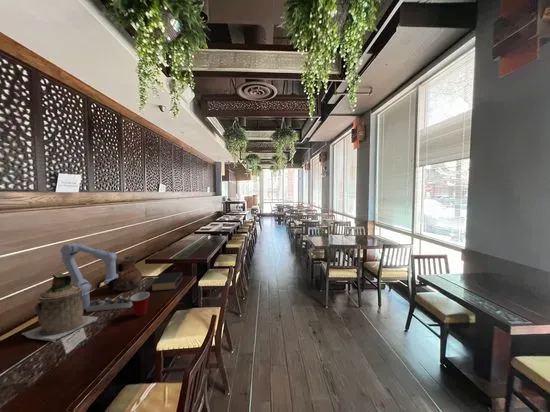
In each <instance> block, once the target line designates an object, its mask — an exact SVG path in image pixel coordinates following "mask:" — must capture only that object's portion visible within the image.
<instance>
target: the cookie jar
mask: <svg viewBox="0 0 550 412" xmlns="http://www.w3.org/2000/svg"><path fill="white" fill-rule="evenodd" d="M52 277H53V278H52V282H51V287H50V288H49V289H47V290H46V291H44V292H42V293H40V295H39V297H38V301H39V302H37V303H36V304H35V306H34V310H35V313H36V315H37V322H38V324H39V325H41V326H37V327H35V328H32V329H30V330H28V331H25V332H23V333H21V335H23V336H25V337H26V338H28V339H34V340H39V341H40V340H41V341H46V342H47V341H48V342H52V343H56V341H57V340H59V339H62V338H63V337H65V336H68V335H69V334H71V333H73V332H75V331H77V330H79V329H82V328H83V327H85V326H88V325H90V324H92V322H93V323H94V322H97V320H98V316H88V315H84V310H83V303H82V299H81V294H80V293H81V292H82V288H80V287H75V286H72V284H71V283H72V279H71V276H70V274H64V273H56V274H52Z"/></svg>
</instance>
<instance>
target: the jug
mask: <svg viewBox="0 0 550 412" xmlns="http://www.w3.org/2000/svg"><path fill="white" fill-rule="evenodd" d="M138 258H139V256H136V255H133V256H121V257H119V258H116V260H115V262H116V274H118V278H115V279H117V282H116V284H115V289H114V290H116V291H117V292H127V291H133V290H135V289H136V288H137V287H138V286H139V285H140V284H141V282H142V279H143V274H142V272H141V271H140V270H139V269H138V268H137V267H136V264H137V259H138Z"/></svg>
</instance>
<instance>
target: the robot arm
mask: <svg viewBox="0 0 550 412" xmlns="http://www.w3.org/2000/svg"><path fill="white" fill-rule="evenodd" d="M79 252H82V253H86V254H89V255H92V257H94V258H95V259H97V260H98V259H99V260H101V261H103V262H104V265H105V280H104V281H103V283H104V284H105V285H107V287H108V289H109V290H108V291H109V292H114V291H115V290H116V289H115V284H116V282H117V279H115V278H118V274H116V262H115V260H116V259H118V255H117V253H116V252H114V251H112V252H109V251H106V250H103V249H102V248H97V249H94V248H92V247H89V246H87V245H85V244H83V243H80V242H77V241H76V242H73V243H69V244H64V245H62V247H61V249H60V253H61V259H62V261H63V264H64V265H65V269H66V271H67V272H68V275H69V276H71V282H72V283H73V284H71V286H75V287H80V288H82V292H81V293H80V294H81V299H82V303H83V311H84V310H86V306H88V305H89V304H90V302H91V299H90V298H91V297H90V291H91V290H92V287H93V286H92V284H91V283H90V282H89V281H88V279H85V278H84V277H83V274H82V273H81V271H80V268H79V266H78V264H77V262H76V260H75V256H76V255H77V254H78V253H79Z"/></svg>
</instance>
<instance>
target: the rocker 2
mask: <svg viewBox="0 0 550 412" xmlns="http://www.w3.org/2000/svg"><path fill="white" fill-rule="evenodd" d="M116 299H117V298H109V297H106V298H105V299H104V300H105V302H109V303H113V302H114V301H115V300H116Z"/></svg>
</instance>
